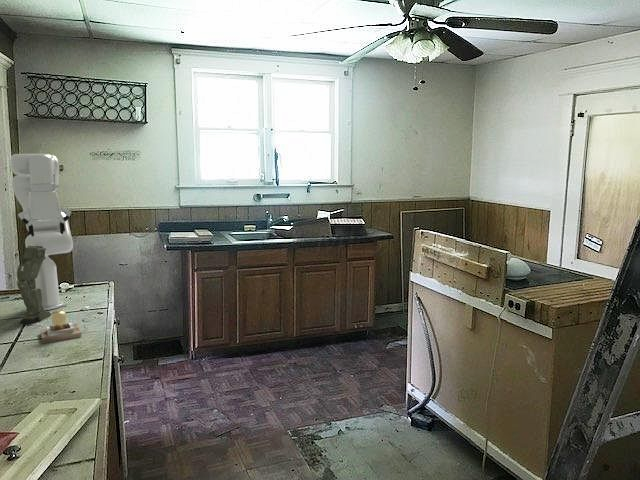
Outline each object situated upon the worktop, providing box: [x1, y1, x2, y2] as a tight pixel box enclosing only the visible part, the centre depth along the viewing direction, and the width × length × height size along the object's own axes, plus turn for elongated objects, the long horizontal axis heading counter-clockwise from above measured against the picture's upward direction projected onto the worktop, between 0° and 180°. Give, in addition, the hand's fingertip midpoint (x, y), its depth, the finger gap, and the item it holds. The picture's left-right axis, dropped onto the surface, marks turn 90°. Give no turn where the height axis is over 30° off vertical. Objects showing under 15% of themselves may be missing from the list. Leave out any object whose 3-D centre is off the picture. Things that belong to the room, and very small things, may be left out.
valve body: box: [50, 309, 68, 331], centre depth 182 cm, size 4×4×7 cm
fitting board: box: [39, 322, 82, 344], centre depth 182 cm, size 11×12×3 cm
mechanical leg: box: [16, 246, 51, 325], centre depth 199 cm, size 14×7×30 cm, turn 168°
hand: (47, 234), depth 189 cm, fingers open, 9 cm apart
